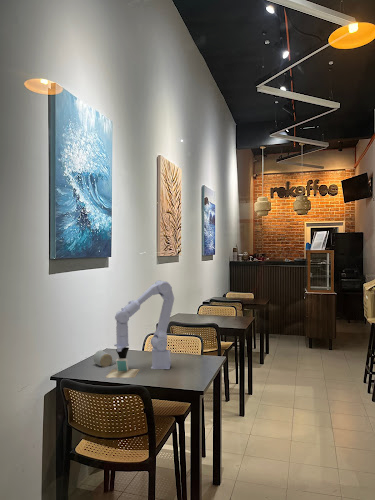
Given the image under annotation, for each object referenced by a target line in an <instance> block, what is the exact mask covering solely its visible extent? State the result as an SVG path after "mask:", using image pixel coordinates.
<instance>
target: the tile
mask: <svg viewBox="0 0 375 500" xmlns="http://www.w3.org/2000/svg"><path fill="white" fill-rule="evenodd" d="M115 362H116V363H115V364H116V369H117V370H118V371H128V369H129V365H128V358H127V357H126V358H119V357H118V358H116V360H115Z"/></svg>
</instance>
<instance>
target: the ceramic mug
mask: <svg viewBox="0 0 375 500" xmlns="http://www.w3.org/2000/svg"><path fill="white" fill-rule="evenodd" d="M93 363H95V365H97V366H100V367H102V368H106V367H110V366H111V365H115V364H117V363H116V360H113V357H112V356H111V354H110V353H108V352H106V351H104V350H102V349H101V350H98V351H96V352H95V353H94V355H93Z"/></svg>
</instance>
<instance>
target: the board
mask: <svg viewBox="0 0 375 500" xmlns="http://www.w3.org/2000/svg"><path fill="white" fill-rule="evenodd" d="M140 370H141V369H139V368H135V369H134V368H132V369H130V368H128V371H118V370H117V368H115V369H112V370H110V371H109V373H108V374H107V375H105V377H104V379H105V378H106V379H107V378H108V379H109V378H110V379H111V378H116V379H117V378H118V379H119V378H121V379H123V378H129V379H130V378H131V379H133V378H136V376H137V374H138V373H139V372H140Z"/></svg>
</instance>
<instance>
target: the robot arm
mask: <svg viewBox="0 0 375 500" xmlns="http://www.w3.org/2000/svg"><path fill="white" fill-rule="evenodd" d="M155 295H160V297H161V298H162V300H163V301H162V305H161V311H160V315H159V319H158V323H157V328H156V330H155V332H153V336H152V337H151V338H150V345H151V346H152V349H151V360H152V361H151V362H152V363H151V364H152V365H151V367H150V369H153V370H154V369H155V370H156V369H157V370H159V369H163V370H170V368H171V366H172V359H171V350H170V349H167V347H168V334H167V332H168V327H169V322H170V320H171V315H172V310H173V305H174V301H175V297H174V293H173V287H172V286H171V284H170V283H169V282H168V281H164V280H156V282H154V283H153V284H151V285H150V286H149V287H148V288H147V289H146V290H145V291H144V292H143V293H142V294H141V295H140V296H139V297H138V298H137V299H135V300H134V299H132V300H129V301H128V302H127V304H126V305H125V306H124V307H122V308H121V310H118V311H117V312H116V314H115V316H114V320H115V321H116V327H115V328H116V331H115V332H116V334H115V335H116V343H114V347H116V353H117V355H118V358H127V355H128V352H129V350H130V347H129V345H130V344H129V326H128V325H129V324H128V323H129V320H130V318H131V317H132V316H134V315H135V314H136V313H137V312H138V311H140V309H141V305H142V304H143V303H144V302H146V301H147V300H149V299H150V298H151V297H152V296H155Z"/></svg>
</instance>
